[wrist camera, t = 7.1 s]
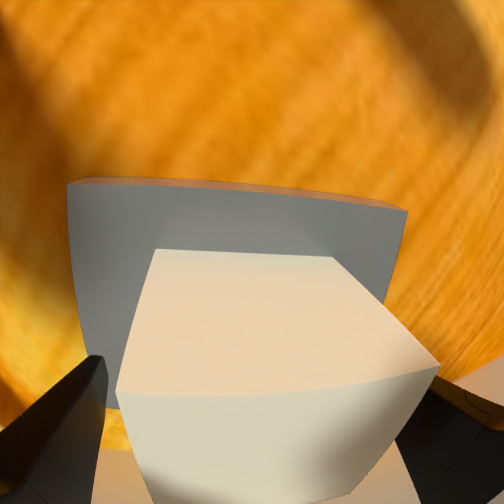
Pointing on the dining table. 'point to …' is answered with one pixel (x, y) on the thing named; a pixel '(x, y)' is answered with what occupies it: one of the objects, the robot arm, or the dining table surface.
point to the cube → (263, 378)
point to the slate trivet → (207, 240)
